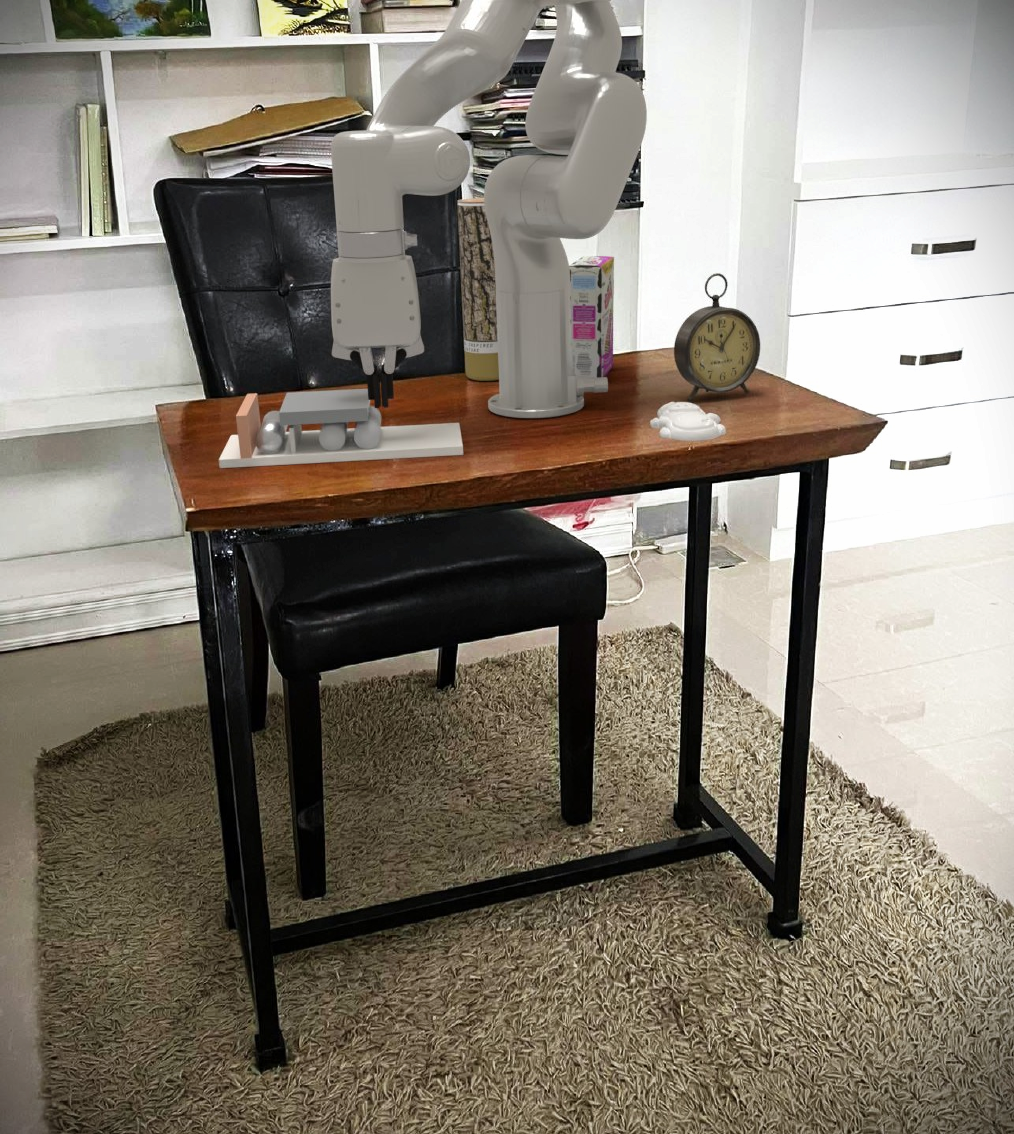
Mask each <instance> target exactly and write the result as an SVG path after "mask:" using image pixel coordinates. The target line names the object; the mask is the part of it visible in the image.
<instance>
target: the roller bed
mask: <svg viewBox="0 0 1014 1134" xmlns="http://www.w3.org/2000/svg"><path fill="white" fill-rule="evenodd" d="M241 403H242V404H241V405H240V407H239V409H238V410H237V413H236V415H235V422H236V427H237V429H236V430H237V434H231V435H230V437H229V439H228V441H227V442H226V445H225V447H224V449H223V451H222V452H221V454H220V457H219V458H218V465H219V469H227V468H230V469H231V468H248V467H265V466H267V467H269V466H281V465H282V466H283V465H284V466H285V465H286V466H287V465H303V464H318V463H339V462H353V461H354V462H356V461H359V462H360V461H371V460H372V461H374V460H375V461H376V460H390V459H391V460H392V459H393V460H394V459H410V458H411V459H412V458H427V457H443V456H444V457H447V456H463V455H464V445H463V438H462V432H461V427H460V425H461V424H460V422H448V423H428V424H415V425H412V424H411V425H410V424H409V425H393V426H391V425H390V426H382V413H381V412H380V410H379V408H375V406H373V405H370V408H369V417H368V421H356V422H355V425H354V426H355V427H352V428H348V425H349V422H337V423H321V427H320V429H316V430H302V424H300V425H289V427H288V431H286V433H285V436H284V439H283V442H282V446H281V448H280V450H279V451H278V452H277V453H275V454H272V455H267V454H263V453H262V452H260V451H259V450H258V448H257V447H256V443H255V440H256V437H257V434H258V431H259V429H260V426H261V424H262V423H261V417H260V416H261V415H260V406H259V398H258V393H256V392H255V393H247V394H246V395H245V398H244V399H243V401H242V402H241Z"/></svg>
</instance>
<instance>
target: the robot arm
mask: <svg viewBox="0 0 1014 1134" xmlns="http://www.w3.org/2000/svg"><path fill="white" fill-rule="evenodd" d="M546 7H554V11H555V16H556V31H555V36H554V40H553V43H552V45H551V48H550V51H549V54H548V57H547V59H546V62H545V64H544V67H543V69H542V72H541V75H540V76H539V79H538V80H537V81H538V82H537V84H536V87H535V90H534V91H533V95H532V96H531V99H530V103H529V105H528V108H527V112H526V117H525V121H524V122H525V124H524V125H525V128H524V129H525V132H526V136H527V137H528V140H529V142H530V143H531V144H532V145H533V146H534V147H535V148H537V149H538V150H540V151H543V152H545V153H549V154H551V155H548V154H547V155H546V154H545V155H543V154H537V155H536V154H535V155H534V154H533V155H532V154H524V155H515V156H512V157H509V158H506V159H503V160H502V161H500V162H499V163H497V165H495V167H494V168H493V169H492V170H491V171H490V172H489V174H488V176H487V179H486V181H485V185H484V191H483V198H484V205H485V212H486V216H487V221H488V225H489V229H490V234H491V239H492V245H493V253H494V264H495V283H496V313H497V339H498V364H499V380H498V383H499V384H498V385H499V386H498V387H499V389H498V390H499V393H497V394H494V395H493V396H491V397H489V399H488V400H487V405H488V410H489V411H490V412H492V413H493V414H495V415H498V416H503V417H507V418H518V419H543V418H545V419H546V418H554V417H560V416H566V415H570V414H573V413H576V412H579V411H580V410H582V409H583V407H584V406H585V398H584V394H585V393H596V394H597V393H607V392H608V391H609V381H608V377H607V376H605V377H600V378H596V377H595V376H586V377H583V376H580V377H578V375H576V374H575V372H574V371H573V369H572V367H571V318H570V269H569V265H570V263H569V260H568V255H567V253H566V250H565V248H564V245H563V242H562V240H561V239H566V240H567V239H568V240H584V239H585V240H586V239H589V238H592V237H594V236H596V235H598V234H599V233H601V231H603V230H604V229H605V227H606V226H607V225H608V223H609V222H610V221H611V218H612V217H613V215H614V213H615V211H616V209H617V206H618V204H619V202H620V199H621V197H622V194H623V191H624V189H625V187H626V184H627V181H628V179H629V176H630V175H631V172H632V169H633V166H634V164H635V161H636V159H637V156H638V153H639V151H640V149H641V146H642V143H643V140H644V137H645V134H646V133H645V132H646V128H647V121H648V120H647V119H648V118H647V116H648V115H647V110H648V109H647V103H646V98H645V95H644V92H643V90H642V89H641V87H640V86H639V84H638V83H637V82H636V80H634V79H633V78H632V77H631V76H628V75H626V74H624V73H621V72H617V68H618V65H619V63H620V59H621V56H622V51H623V48H622V47H623V41H622V40H623V38H622V33H621V32H622V31H621V28H620V25H619V22H618V20H617V16H616V15H615V12H614V9H613V7H612V4H611V1H610V0H461V1H460V2H459V5H458V7H457V8H456V10H455V12H454V14H453V16H452V18H451V20H450V22H449V23H448V26H447V27H446V29H445V31H443V33H442V35H441V36H440V37H439V39H437V40H436V41H435V42H433V44H431V45H430V46H429V47H428V48H427V49H426V50H425V51H424V52H423V53H422V54H421V55H420V56H419V57H418V58H416V60H414V62H413V63H412V64H411V65H409V67H408V68H407V69H406V70H405V71H403V73H401V75H400V76H399V77H398V78H397V79H396V80H395V81H394V82H393V83H392V85H391V86H390V88H389V89H388V90H387V92H386V94H384V96H383V97H382V100H381V101H380V103H379V105H378V106H377V108H376V110H375V112H374V114H373V115H372V118H371V119H370V122H369V123H368V125H367V127H366V130H365V129H364V130H350V131H349V130H348V131H342V132H341V131H340V132H339V133H337V134H335V135H334V136H333V138H332V140H331V143H330V156H331V167H332V168H331V169H332V171H331V172H332V182H333V184H332V185H333V194H334V208H335V210H334V211H335V221H336V222H335V223H336V224H335V225H336V238H337V251H338V254H337V255H338V257H336V258H334V259H333V258H332V259H333V260H332V264H331V265H332V266H331V275H330V309H331V310H330V312H331V329H332V338H333V344H332V349H331V356H332V357H333V358H335V359H337V358H338V359H342V360H348V361H352V363H354V364H356V365H357V367H359V368H360V369H361V370H362V371H363V372H364V373H365V374H366V381H367V383H366V384H367V389H368V400H370V401H373V400H374V401H373V402H374V407H375V408H377V409H380V408H381V407H382V408H383V409H387V408H389V399H390V400H394V399H395V393H394V377H393V373H394V372H395V370H396V369H397V368H398V367H399V366H400V364H401V363H402V362H403V361H404V360H405V359H407V358H411V357H414V356H418V355H421V354H424V352H425V345H424V342H423V340H422V336H421V329H422V328H421V323H422V322H421V321H422V320H421V310H420V309H421V308H420V307H421V306H420V299H419V290H418V289H419V288H418V281H417V275H416V269H415V265H414V262H413V257H412V256H411V255H407V254H406V250H408V248H411V247H417V246H418V238H417V237H418V235H417V234H416V233H410V232H407V231H406V230H405V231H404V225H405V224H404V210H403V209H404V208H403V207H404V205H403V196H404V195H407V194H408V195H419V196H430V197H432V196H433V197H435V196H442V195H446V194H449V193H451V192H453V191H455V190H456V189H457V188H458V187H460V185H463V182H464V181H465V180H466V179H467V176H468V174H469V170H470V168H471V167H470V166H471V156H470V151H469V149H468V146H467V144H466V142H465V141H464V140H463V139H462V138H461V136H460V135H459V134H457V133H456V132H454V131H453V130H450V129H449V128H445V127H444V126H443V127H442V126H437V125H436V124H437V122H439V120H440V119H441V118H443V116H444V115H445V114H447V113H448V112H450V111H451V110H452V109H453V108H455V107H456V106H458V105H460V104H462V103H463V102H465V101H466V100H468V99H470V98H472V97H475V96H477V95H479V94H481V93H482V92H484V91H486V90H488V89H489V88H491V87H493V86H494V85H496V84H498V82H501V80H502V79H504V78H505V77H506V76H507V75H508V73H509V71H510V70H511V68H512V67H513V64H514V62H515V60H516V58H517V56H518V55H519V52H520V51H521V49H522V46H523V45H524V43H525V40H526V38H527V37H528V35H529V33H530V31H531V30H532V28H533V26H534V23H535V22H536V20H537V18H538V16H539V14H540V12H541V11H542V10H543V9H544V8H546ZM552 154H554V155H552ZM558 155H561V156H558ZM562 155H563V156H562ZM564 155H565V156H564ZM373 348H374V349H376V348H377V349H378V348H380V349H381V348H385V352H384V363H383V364H382V365H381V370H380V371H379V370H378V365H376V363H375V361H374V357H373V353H372V349H373Z"/></svg>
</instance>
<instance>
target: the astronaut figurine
mask: <svg viewBox="0 0 1014 1134" xmlns="http://www.w3.org/2000/svg"><path fill="white" fill-rule="evenodd" d="M700 407H701V406H699V405H697V404H695V403H692V402H689V401H677V402H675V401H671V402H669V403H665V404H663V405H661V407H659V409H658V410H657V413H656V415H657V417H654V418H653V419H651V420H650V422H649V426H650V428H651V429H659V437H660V438H663V439H671V440H675V441H681V442H702V441H703V442H704V441H711V440H713V439H717V438H719V437H720V436H725V435H726V433H727V430H726V426H724V424H722V423H721V417H720V416H719V415H718V414H716V413H713V412H709V413H706V412H705V411H704V410H703V409H702V408H700Z"/></svg>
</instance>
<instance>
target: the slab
mask: <svg viewBox="0 0 1014 1134" xmlns="http://www.w3.org/2000/svg"><path fill="white" fill-rule="evenodd" d="M370 406H371V400H368V388H355V389H353V388H351V389H335V390H333V389H332V390H315V391H314V390H313V391H299V392H298V391H295V392H286V394H285V397H284V398H283V401H282V404H281V407H280V409H279V410H278V411H279V418H280V426H281V425H288V426H290V425H300V424H301V425H312V424H313V425H315V424H322V423H337V422H348V423H351V422H352V423H353V422H355V423H356V421H368V417H369V408H370Z"/></svg>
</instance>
